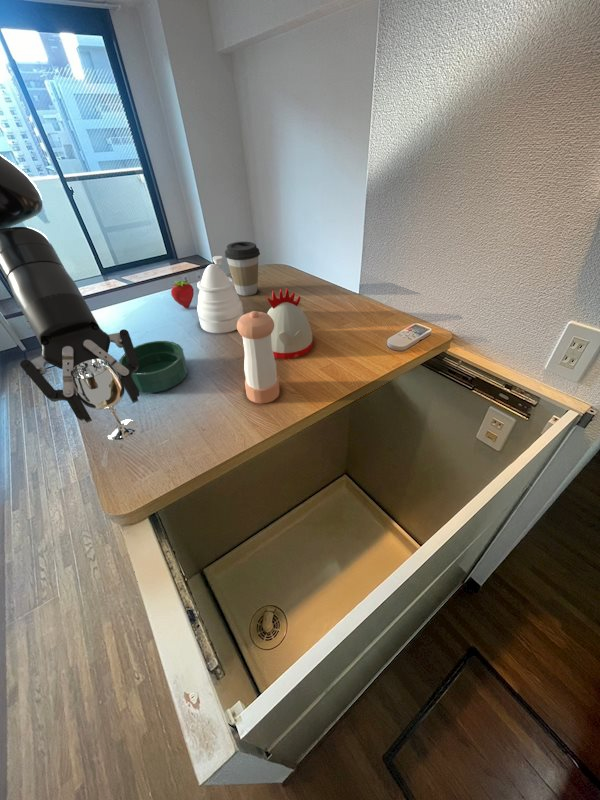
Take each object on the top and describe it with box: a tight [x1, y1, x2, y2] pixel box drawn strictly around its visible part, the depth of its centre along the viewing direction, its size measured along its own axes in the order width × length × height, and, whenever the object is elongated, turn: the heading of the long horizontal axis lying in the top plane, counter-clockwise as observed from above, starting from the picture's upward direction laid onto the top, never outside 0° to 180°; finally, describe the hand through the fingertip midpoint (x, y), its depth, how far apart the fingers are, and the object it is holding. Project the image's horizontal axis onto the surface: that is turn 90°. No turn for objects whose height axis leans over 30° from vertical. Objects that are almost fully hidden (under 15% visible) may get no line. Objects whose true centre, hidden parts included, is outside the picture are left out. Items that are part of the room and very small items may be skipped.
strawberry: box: [170, 275, 195, 309], centre depth 100 cm, size 6×8×10 cm
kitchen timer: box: [266, 287, 313, 360], centre depth 82 cm, size 14×14×15 cm
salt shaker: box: [236, 310, 280, 404], centre depth 65 cm, size 7×7×19 cm
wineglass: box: [71, 359, 139, 442], centre depth 47 cm, size 6×6×12 cm
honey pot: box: [196, 255, 245, 334], centre depth 90 cm, size 13×13×18 cm
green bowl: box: [118, 340, 189, 394], centre depth 75 cm, size 14×14×6 cm
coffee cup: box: [224, 241, 261, 297], centre depth 108 cm, size 11×11×15 cm
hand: (113, 410), depth 47 cm, fingers closed on wineglass, 6 cm apart
